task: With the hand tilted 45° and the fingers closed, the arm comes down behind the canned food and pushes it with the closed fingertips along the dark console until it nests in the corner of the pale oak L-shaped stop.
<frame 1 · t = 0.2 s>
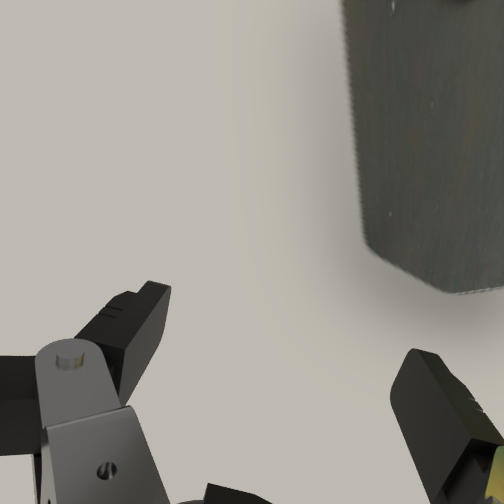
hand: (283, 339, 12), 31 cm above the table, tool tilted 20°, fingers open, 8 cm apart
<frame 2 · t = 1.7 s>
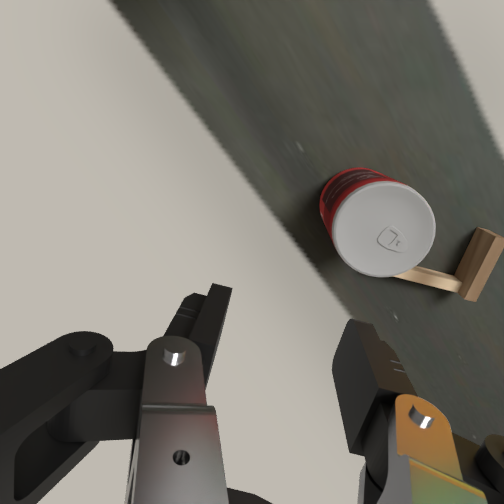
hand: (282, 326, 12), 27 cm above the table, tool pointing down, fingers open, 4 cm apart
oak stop: (424, 221, 38), on the table
canned food: (355, 203, 38), on the table
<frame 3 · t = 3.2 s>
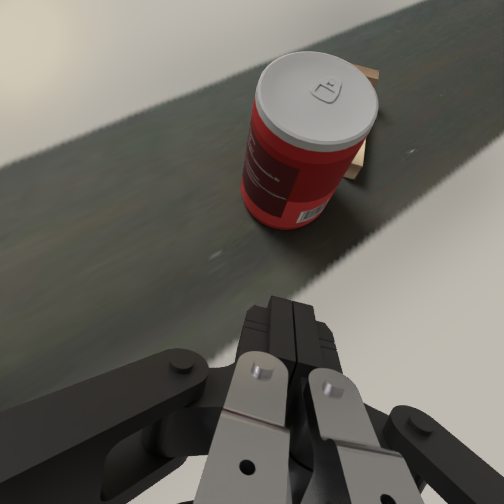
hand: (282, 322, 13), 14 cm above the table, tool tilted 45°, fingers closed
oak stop: (297, 130, 35), on the table
canned food: (282, 194, 32), on the table
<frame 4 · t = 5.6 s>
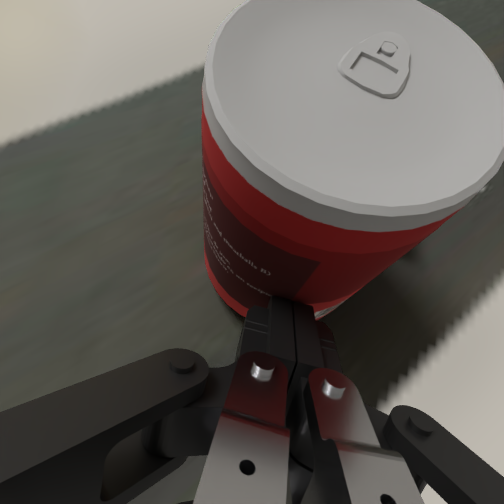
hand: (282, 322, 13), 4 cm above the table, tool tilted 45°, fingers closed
canned food: (278, 257, 19), on the table, touching gripper
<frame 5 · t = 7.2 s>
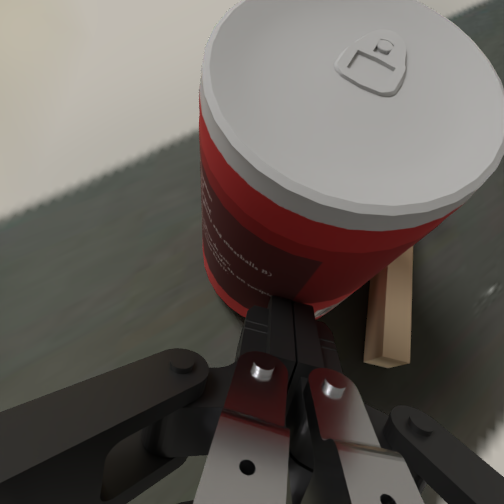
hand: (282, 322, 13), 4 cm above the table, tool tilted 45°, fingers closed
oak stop: (276, 260, 18), on the table
canned food: (277, 256, 19), on the table, touching gripper
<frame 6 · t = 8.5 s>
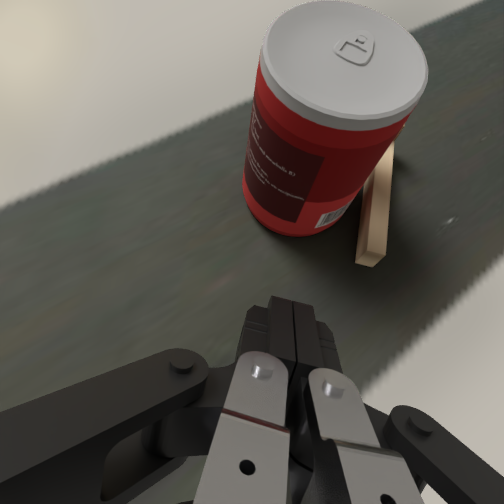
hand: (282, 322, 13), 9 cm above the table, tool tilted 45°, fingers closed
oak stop: (293, 195, 26), on the table
canned food: (293, 193, 26), on the table
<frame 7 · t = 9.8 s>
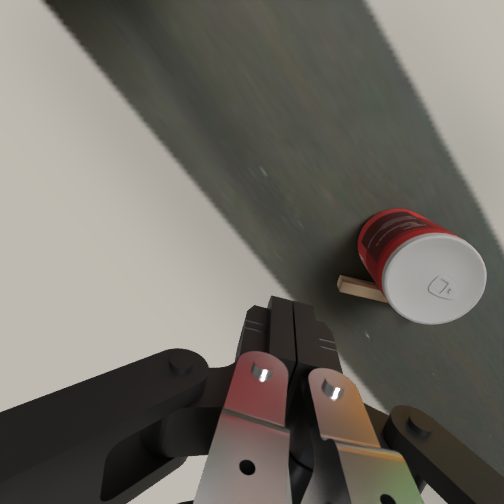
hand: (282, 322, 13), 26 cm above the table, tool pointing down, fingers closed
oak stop: (389, 241, 38), on the table
canned food: (392, 241, 39), on the table
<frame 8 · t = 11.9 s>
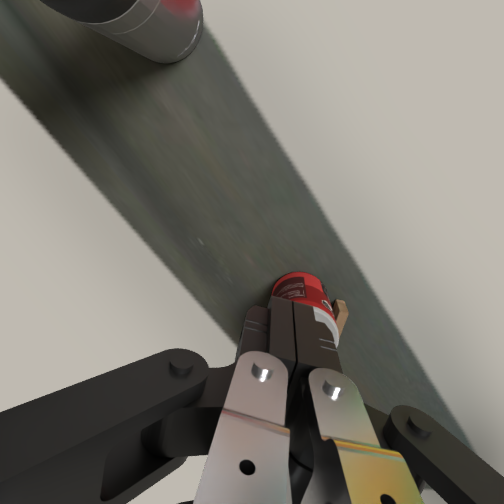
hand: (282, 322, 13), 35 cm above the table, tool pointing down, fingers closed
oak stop: (296, 294, 51), on the table
canned food: (299, 294, 51), on the table
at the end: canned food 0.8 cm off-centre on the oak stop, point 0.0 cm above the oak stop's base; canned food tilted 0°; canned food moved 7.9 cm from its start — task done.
